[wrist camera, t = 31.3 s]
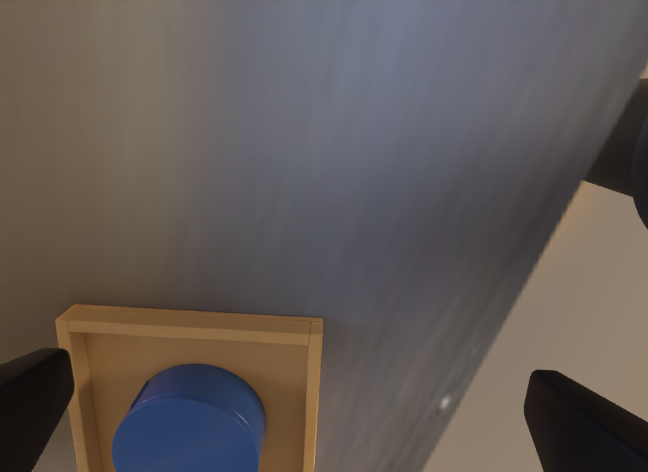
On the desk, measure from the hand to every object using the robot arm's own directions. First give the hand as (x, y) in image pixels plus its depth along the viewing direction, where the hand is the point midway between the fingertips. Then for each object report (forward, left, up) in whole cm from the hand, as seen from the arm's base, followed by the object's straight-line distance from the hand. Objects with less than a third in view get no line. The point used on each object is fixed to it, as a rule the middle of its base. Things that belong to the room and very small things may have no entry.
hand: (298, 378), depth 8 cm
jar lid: (+5, +11, -9) cm, 15 cm away
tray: (+5, +11, -12) cm, 17 cm away
